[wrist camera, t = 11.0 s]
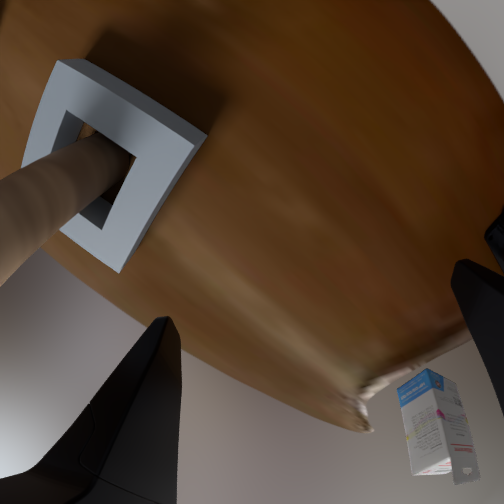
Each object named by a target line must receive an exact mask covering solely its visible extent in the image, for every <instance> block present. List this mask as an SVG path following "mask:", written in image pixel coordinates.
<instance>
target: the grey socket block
mask: <svg viewBox="0 0 504 504" xmlns="http://www.w3.org/2000/svg"><path fill="white" fill-rule="evenodd" d="M84 122H85V123H87V124H88V125H90V126H91V127H93V128H94V129H96V130H97V131H99V132H100V133H102V134H103V135H105V136H106V137H108V138H109V139H111V140H112V141H114V142H115V143H117V144H118V145H120V146H121V147H122V148H124V149H125V150H127V151H128V152H130V153H131V154H133V155H134V156H136V157H137V158H136V160H135V162H134V164H133V166H132V168H131V169H130V171H129V173H128V175H127V177H126V179H125V181H124V183H123V185H122V187H121V189H120V191H119V193H118V196H117V198H116V200H115V202H114V204H113V205H111V204H110V203H109V202H107V201H106V200H104V199H103V198H102V197H100V196H99V197H98V198H96V199H95V200H94V201H92V202H91V203H90V204H89V205H87V206H86V207H85V208H84V209H83V210H81V211H80V212H79V213H78V214H76V215H75V216H74V217H73V218H72V219H71V220H69V221H68V222H67V223H66V224H65V225H64V226H62V227H61V228H60V229H59V230H60V231H62V232H63V233H64V234H65V235H67V236H68V237H69V238H71V239H72V240H73V241H75V242H76V243H77V244H79V245H80V246H81V247H83V248H84V249H85V250H87V251H88V252H89V253H91V254H92V255H94V256H95V257H96V258H98V259H99V260H101V261H102V262H103V263H105V264H106V265H108V266H109V267H110V268H112V269H113V270H115V271H116V272H118V273H120V272H121V270H122V269H123V267H124V266H125V265H126V263H127V262H128V261H129V259H130V258H131V257H132V255H133V254H134V253H135V251H136V249H137V247H138V246H139V244H140V242H141V240H142V239H143V237H144V235H145V233H146V232H147V230H148V228H149V226H150V225H151V223H152V221H153V220H154V218H155V216H156V215H157V213H158V211H159V210H160V208H161V206H162V205H163V203H164V201H165V200H166V198H167V197H168V195H169V193H170V192H171V190H172V189H173V187H174V185H175V184H176V182H177V181H178V179H179V178H180V176H181V175H182V173H183V172H184V170H185V168H186V167H187V165H188V164H189V162H190V161H191V159H192V158H193V157H194V155H195V154H196V152H197V151H198V149H199V148H200V146H201V145H202V143H203V142H204V141H205V139H206V138H207V136H208V135H206V134H205V133H203V132H202V131H200V130H199V129H197V128H196V127H194V126H193V125H191V124H190V123H188V122H187V121H185V120H184V119H182V118H181V117H179V116H178V115H176V114H175V113H173V112H172V111H170V110H169V109H167V108H166V107H164V106H162V105H161V104H159V103H158V102H156V101H155V100H153V99H151V98H150V97H148V96H147V95H145V94H143V93H142V92H140V91H138V90H137V89H135V88H134V87H132V86H130V85H129V84H127V83H125V82H124V81H122V80H120V79H119V78H117V77H115V76H113V75H112V74H110V73H108V72H107V71H105V70H103V69H101V68H100V67H98V66H96V65H94V64H92V63H91V62H89V61H87V60H85V59H66V60H57V62H56V64H55V67H54V69H53V71H52V74H51V76H50V78H49V81H48V83H47V86H46V88H45V91H44V93H43V96H42V99H41V101H40V104H39V107H38V110H37V113H36V116H35V119H34V122H33V125H32V128H31V132H30V135H29V139H28V142H27V146H26V150H25V154H24V158H23V162H22V166H21V168H23V167H25V166H27V165H28V164H30V163H32V162H34V161H36V160H38V159H40V158H42V157H44V156H46V155H48V154H50V153H52V152H54V151H57V150H59V149H61V148H63V147H65V146H67V145H70V144H72V143H74V142H76V140H77V137H78V135H79V132H80V130H81V127H82V125H83V123H84Z"/></svg>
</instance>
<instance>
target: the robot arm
mask: <svg viewBox="0 0 504 504" xmlns="http://www.w3.org/2000/svg"><path fill="white" fill-rule="evenodd" d="M484 239H485V241H486V242H487V244H488V246H489V248H490V249H491V251H492V253H493V255H494V256H495V258H496V260H497V262H498V264H499V266H500V268H501V270H502V272H503V273H504V213H503V214H502V216H501V217H500V218H499V219H498V220H497V221H496V222H495V223H494V224H493V225H492V226H491V228H490V229H489V230H488V231H487V232H486V233H485V235H484ZM451 288H452V290H453V293H454V295H455V297H456V300H457V302H458V304H459V307H460V309H461V312H462V315H463V317H464V320H465V322H466V325H467V327H468V329H469V331H470V333H471V335H472V337H473V340H474V341H475V344H476V346H477V348H478V350H479V353H480V355H481V357H482V359H483V362H484V364H485V367H486V369H487V372H488V374H489V376H490V379H491V382H492V384H493V387H494V390H495V392H496V395H497V398H498V401H499V404H500V407H501V410H502V412H503V416H504V276H502V275H500V274H498V273H496V272H494V271H492V270H490V269H488V268H486V267H484V266H482V265H480V264H477V263H475V262H473V261H471V260H469V259H462V260H459V261H457V262H456V264H455V267H454V271H453V274H452V278H451ZM181 394H182V371H181V340H180V335H179V333H178V331H177V329H176V327H175V325H174V323H173V321H172V319H171V318H170V317H169V316H164V317H157V318H156V319H155V320H154V321H153V322H152V323H151V324H150V326H149V327H148V328H147V329H146V331H145V332H144V333H143V334H142V336H141V337H140V338H139V340H138V341H137V342H136V343H135V344H134V346H133V347H132V348H131V349H130V351H129V352H128V353H127V354H126V356H125V357H124V358H123V359H122V361H121V362H120V363H119V365H118V366H117V367H116V369H115V370H114V371H113V372H112V374H111V375H110V376H109V377H108V379H107V380H106V381H105V383H104V384H103V385H102V386H101V388H100V389H99V390H98V392H97V393H96V394H95V396H94V397H93V398H92V400H91V401H90V404H88V405H87V406H86V407H85V409H84V410H83V411H82V413H81V414H80V415H79V416H78V418H77V419H76V420H75V421H74V423H73V424H72V425H71V426H70V428H69V429H68V430H67V431H66V432H65V433H64V434H63V436H62V437H61V438H60V439H59V440H58V441H57V442H56V443H55V445H54V446H53V447H52V448H51V449H50V450H49V451H48V452H47V453H46V454H45V456H44V457H43V458H42V459H41V460H40V461H39V462H38V463H37V464H36V465H35V466H34V467H32V468H31V469H29V470H28V471H26V472H23V473H20V474H17V475H13V476H9V477H5V478H1V479H0V504H177V503H176V502H177V463H178V442H179V423H180V408H181Z"/></svg>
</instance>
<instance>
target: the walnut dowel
mask: <svg viewBox="0 0 504 504" xmlns="http://www.w3.org/2000/svg"><path fill="white" fill-rule="evenodd" d="M129 161H130V160H129V152H128V151H127V150H125V149H124V148H122V147H121V146H120V145H118V144H117V143H115V142H114V141H112V140H111V139H109V138H108V137H106V136H105V135H103V134H102V133H100V132H98V133H96V134H93V135H91V136H88V137H86V138H84V139H81V140H79V141H77V142H74V143H72V144H70V145H67V146H65V147H63V148H61V149H59V150H57V151H54V152H52V153H50V154H48V155H46V156H44V157H42V158H40V159H38V160H36V161H34V162H32V163H30V164H28V165H27V166H25V167H23V168H21V169H19V170H17V171H16V172H14V173H12V174H10V175H8V176H7V177H5V178H3V179H2V180H0V287H1V285H2V284H3V283H4V282H5V281H6V280H7V279H8V278H9V277H10V276H11V275H12V274H13V273H14V272H15V271H16V270H17V269H18V268H19V266H21V265H22V264H23V263H24V262H25V261H26V260H27V259H28V258H29V257H30V256H31V255H32V254H33V253H34V252H35V251H36V250H37V249H38V248H39V247H40V246H41V245H42V244H43V243H45V242H46V241H47V240H48V239H49V238H50V237H51V236H52V235H53V234H54V233H56V232H57V231H58V230H59V229H60V228H61V227H62V226H64V225H65V224H66V223H67V222H68V221H69V220H71V219H72V218H73V217H74V216H75V215H76V214H78V213H79V212H80V211H81V210H83V209H84V208H85V207H86V206H87V205H89V204H90V203H91V202H92V201H94V200H95V199H96V198H98V197H99V196H100V195H101V194H103V193H104V192H105V191H107V190H108V189H109V188H111V187H112V186H113V185H115V184H116V183H117V182H119V181H120V180H121V179H122V178H123V177H124V176H125V175H126V173H127V171H128V168H129Z"/></svg>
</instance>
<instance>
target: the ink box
mask: <svg viewBox="0 0 504 504" xmlns="http://www.w3.org/2000/svg"><path fill="white" fill-rule="evenodd" d="M397 392H398V397H399V401H400V406H401V410H402V416H403V421H404V426H405V432H406V438H407V444H408V450H409V456H410V464H411V471H412V475H433V474H445V473H448V472H450V471H452V475H453V483H454V485H458V484H463V483H469V482H473V481H477V480H480V473H479V468H478V463H477V458H476V452H475V448H474V444H473V440H472V436H471V432H470V428H469V425H468V421H467V418H466V414H465V411H464V408H463V405H462V402H461V398H460V395H459V392H458V389H457V386H456V384H455V383H454V382H452V381H450V380H448V379H447V378H445V377H443V376H441V375H439V374H437V373H435V372H433V371H431V370H429V369H425V370H423V371H422V372H421V373H420V374H418V375H417V376H415V377H414V378H412V379H411V380H410V381H408V382H407V383H405V384H404V385H402V386H401V387H400V388H397ZM467 468H470V469H471V473H469V475H467V474H464V473H463V469H467Z"/></svg>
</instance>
